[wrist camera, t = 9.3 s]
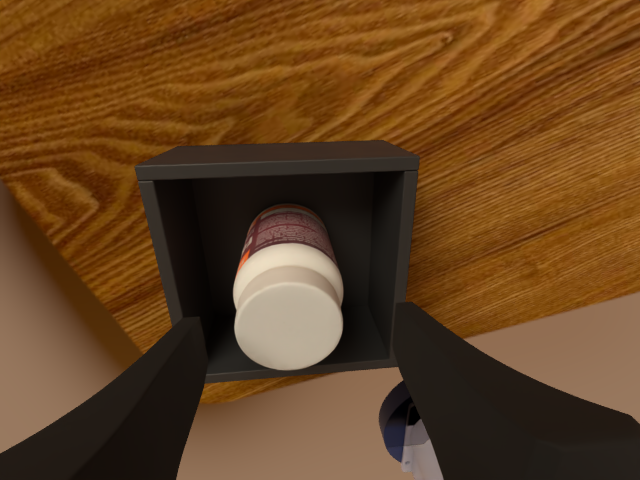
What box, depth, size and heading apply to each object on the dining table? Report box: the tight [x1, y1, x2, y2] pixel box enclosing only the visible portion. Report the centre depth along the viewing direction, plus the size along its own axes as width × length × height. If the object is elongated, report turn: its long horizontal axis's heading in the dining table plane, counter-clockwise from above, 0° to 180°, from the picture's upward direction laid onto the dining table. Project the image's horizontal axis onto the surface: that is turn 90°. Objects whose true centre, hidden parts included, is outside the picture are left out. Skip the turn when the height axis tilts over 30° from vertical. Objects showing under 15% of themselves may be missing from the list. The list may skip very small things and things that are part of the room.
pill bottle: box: [233, 203, 343, 370], centre depth 16 cm, size 5×5×8 cm
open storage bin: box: [135, 140, 420, 384], centre depth 18 cm, size 11×11×6 cm
